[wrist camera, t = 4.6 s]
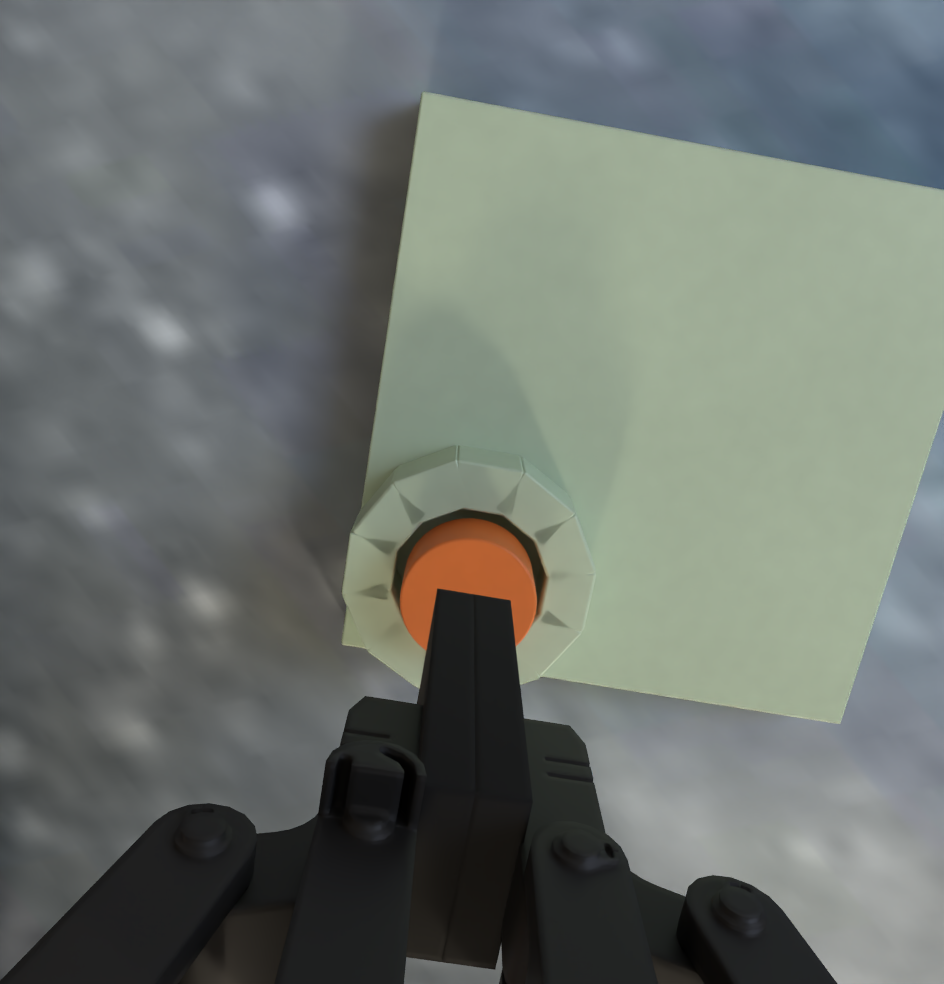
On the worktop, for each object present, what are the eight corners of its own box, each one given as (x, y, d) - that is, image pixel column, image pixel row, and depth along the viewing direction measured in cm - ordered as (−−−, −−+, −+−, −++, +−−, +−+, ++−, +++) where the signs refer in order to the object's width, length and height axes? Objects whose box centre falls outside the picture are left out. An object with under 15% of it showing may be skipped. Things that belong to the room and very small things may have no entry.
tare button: (544, 528, 22) (549, 550, 20) (519, 646, 22) (523, 675, 21) (415, 507, 21) (410, 527, 20) (395, 626, 22) (390, 654, 21)
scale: (980, 204, 22) (1056, 199, 19) (821, 701, 26) (864, 759, 23) (422, 99, 21) (415, 78, 18) (345, 624, 25) (329, 674, 22)
